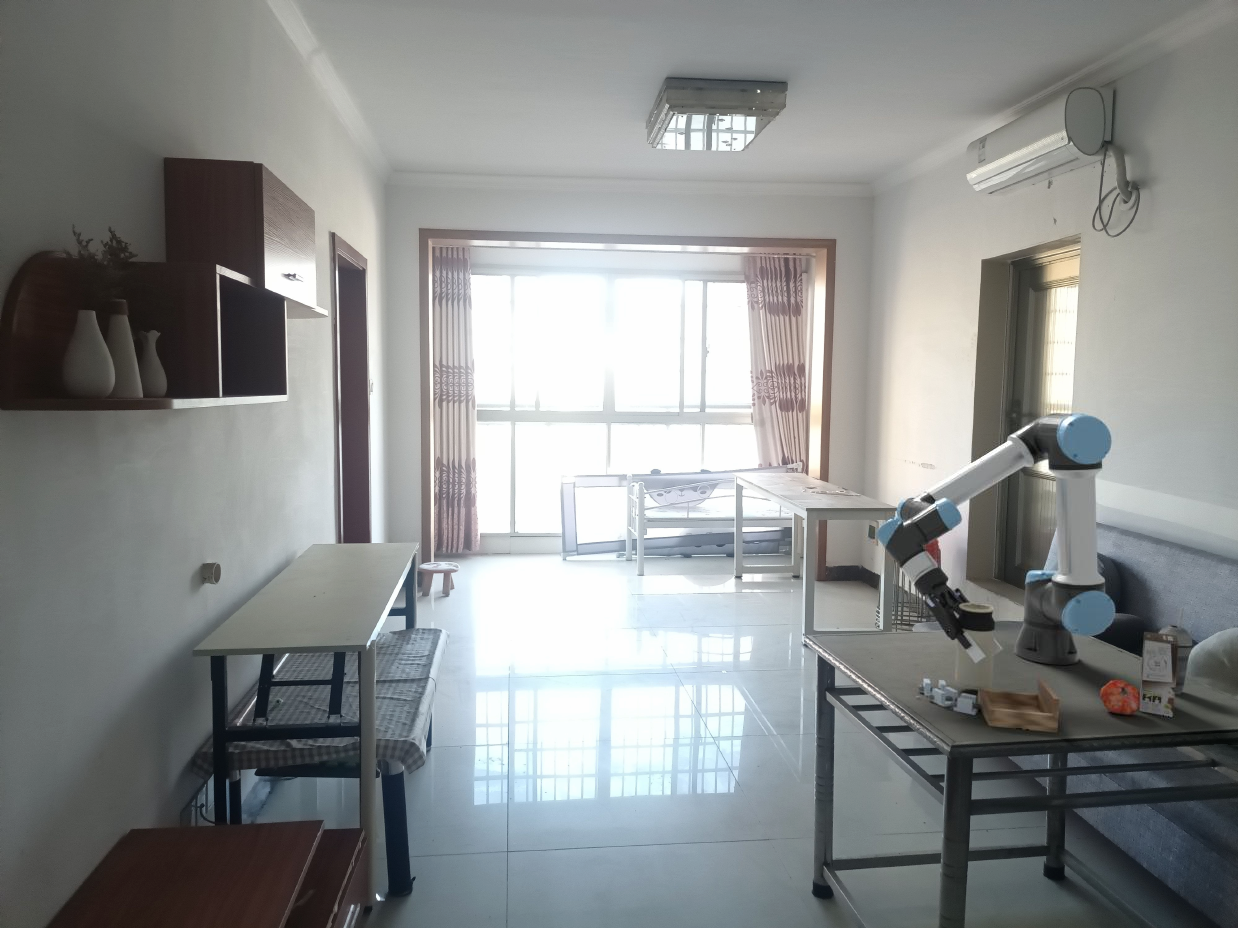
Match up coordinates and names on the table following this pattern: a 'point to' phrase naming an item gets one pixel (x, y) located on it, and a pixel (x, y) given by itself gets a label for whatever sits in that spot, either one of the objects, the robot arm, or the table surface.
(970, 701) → the cable route
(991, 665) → the travel mug
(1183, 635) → the beverage cup
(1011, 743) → the table surface
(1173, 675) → the coffee box
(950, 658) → the table surface
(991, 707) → the wooden tray
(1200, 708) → the table surface
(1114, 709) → the pomegranate
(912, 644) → the table surface
